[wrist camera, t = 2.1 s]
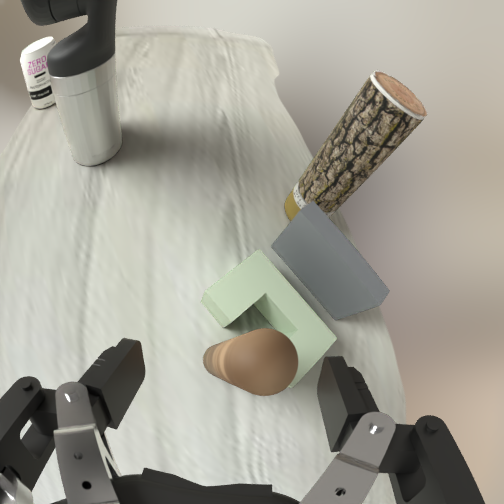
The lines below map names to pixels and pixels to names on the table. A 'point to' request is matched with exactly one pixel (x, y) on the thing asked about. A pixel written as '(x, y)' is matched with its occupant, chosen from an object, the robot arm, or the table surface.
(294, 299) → the cradle
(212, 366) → the brown banded cylinder
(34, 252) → the table surface
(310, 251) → the wall
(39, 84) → the supplement can
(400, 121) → the brown bark cylinder
